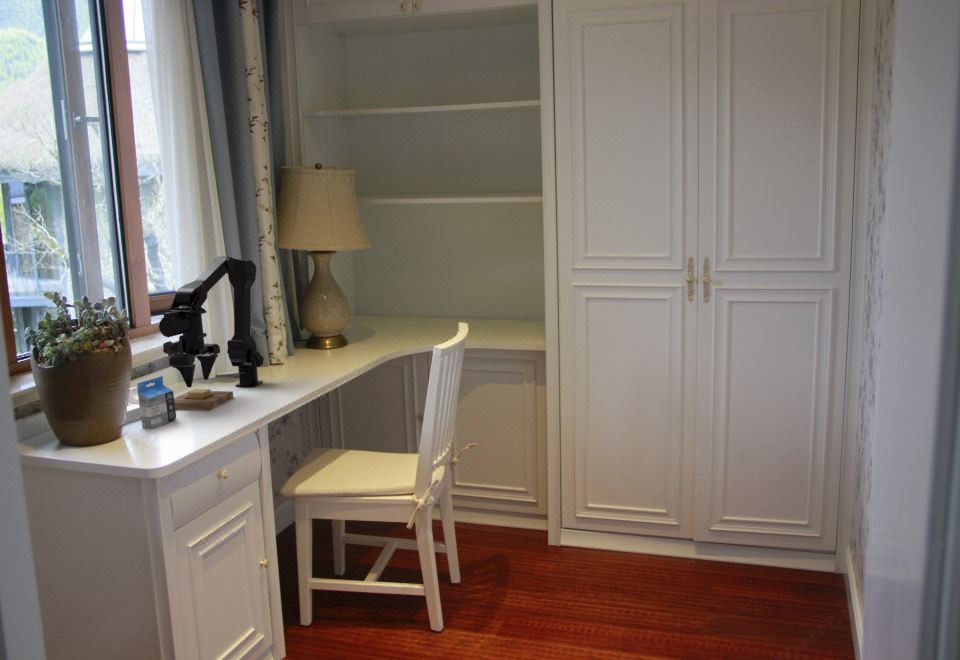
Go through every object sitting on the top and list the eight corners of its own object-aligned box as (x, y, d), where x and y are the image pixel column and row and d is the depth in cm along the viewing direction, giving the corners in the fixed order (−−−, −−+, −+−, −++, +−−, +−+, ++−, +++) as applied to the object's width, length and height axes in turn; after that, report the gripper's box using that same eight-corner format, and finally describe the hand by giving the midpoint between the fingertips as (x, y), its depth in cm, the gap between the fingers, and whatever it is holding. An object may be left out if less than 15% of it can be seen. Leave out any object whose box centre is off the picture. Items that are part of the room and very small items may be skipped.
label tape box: (151, 429, 229) (147, 384, 227) (141, 427, 231) (136, 383, 228) (177, 420, 237) (172, 376, 234) (166, 419, 238) (162, 375, 236)
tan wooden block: (196, 402, 256) (194, 388, 256) (211, 402, 255) (210, 389, 254) (188, 405, 252) (187, 392, 252) (204, 405, 251) (203, 392, 251)
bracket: (137, 412, 247) (134, 386, 246) (155, 415, 244) (152, 389, 243) (98, 424, 236) (95, 398, 235) (116, 427, 233) (113, 400, 231)
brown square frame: (191, 396, 262) (190, 390, 262) (233, 397, 259) (232, 391, 259) (165, 409, 249) (164, 402, 248) (209, 410, 246) (208, 403, 245)
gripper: (185, 325, 260) (190, 375, 263) (149, 336, 243) (154, 390, 245) (218, 325, 258) (223, 376, 261) (184, 337, 240) (190, 391, 243)
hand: (197, 383), depth 253 cm, fingers open, 9 cm apart
